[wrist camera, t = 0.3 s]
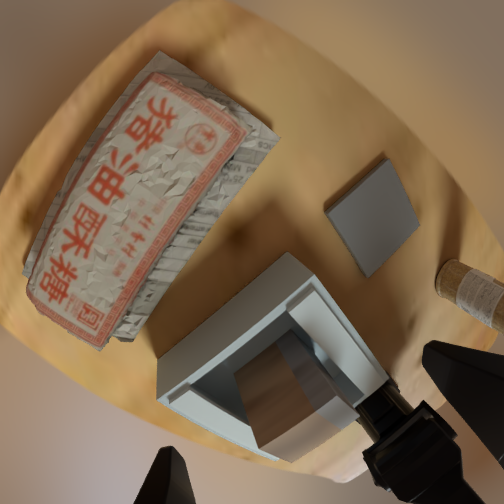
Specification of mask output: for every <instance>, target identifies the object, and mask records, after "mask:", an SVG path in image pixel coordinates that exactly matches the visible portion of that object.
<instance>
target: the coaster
mask: <svg viewBox="0 0 504 504" xmlns="http://www.w3.org/2000/svg"><path fill="white" fill-rule="evenodd" d="M324 213H325V215H326V216H327V218H328V219H329V221H330V222H331V224H332V225H333V227H334V228H335V230H336V231H337V233H338V234H339V236H340V238H341V239H342V241H343V242H344V244H345V245H346V247H347V249H348V250H349V252H350V253H351V255H352V257H353V258H354V260H355V261H356V263H357V265H358V266H359V268H360V270H361V271H362V273H363V275H364V276H365V277H367V278H369V277H370V276H371V275H372V274H373V273H374V272H375V271H376V270H377V269H378V268H379V267H380V266H381V265H382V264H383V263H384V262H385V261H386V260H387V259H388V258H389V257H390V256H391V255H392V254H393V253H394V252H395V251H396V250H397V249H398V248H399V247H400V246H401V245H402V244H403V243H404V242H405V241H406V240H407V239H408V238H409V237H410V236H411V234H412V233H413V232H414V231H415V230H416V229H417V228H418V227H419V226H420V224H419V222H418V219H417V217H416V214H415V212H414V210H413V208H412V205H411V203H410V201H409V199H408V196H407V194H406V192H405V190H404V188H403V186H402V184H401V181H400V179H399V177H398V175H397V173H396V171H395V169H394V167H393V165H392V163H391V162H390V160H389V159H383V160H382V161H381V162H380V163H379V164H378V165H377V166H376V167H375V168H373V169H372V170H371V171H370V172H369V173H368V174H367V175H366V176H365V177H363V178H362V179H361V180H360V181H359V182H358V183H357V184H356V185H354V186H353V187H352V188H351V189H350V190H349V191H348V192H347V193H345V194H344V195H343V196H342V197H341V198H340V199H339V200H338V201H336V202H335V203H334V204H333V205H332V206H331V207H330V208H328V209H327V210H326V211H325V212H324Z"/></svg>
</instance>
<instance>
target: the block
mask: <svg viewBox="0 0 504 504" xmlns="http://www.w3.org/2000/svg"><path fill="white" fill-rule="evenodd" d="M233 374H234V377H235V380H236V383H237V386H238V390H239V393H240V396H241V399H242V402H243V405H244V408H245V411H246V414H247V417H248V420H249V423H250V426H251V429H252V432H253V435H254V438H255V441H256V444H257V446H258V449H259V450H262V451H264V452H266V453H268V454H271V455H273V456H275V457H278V458H280V459H283V460H285V461H288V462H290V463H292V462H294V461H296V460H297V459H299V458H301V457H302V456H304V455H305V454H307V453H309V452H310V451H312V450H313V449H315V448H316V447H318V446H319V445H321V444H322V443H324V442H325V441H327V440H328V439H330V438H331V437H333V436H334V435H335V434H337V433H338V432H340V431H341V430H342V429H344V428H345V427H346V426H348V425H349V424H350V423H352V422H353V421H354V420H356V419H357V418H358V417H360V415H359V414H358V412H357V411H356V410H355V408H354V407H353V405H352V404H351V403H350V401H349V400H348V399H347V397H346V396H345V395H344V393H343V392H342V390H341V389H340V388H339V386H338V385H337V383H336V382H335V381H334V379H333V378H332V377H331V375H330V374H329V372H328V371H327V370H326V368H325V367H324V366H323V364H322V363H321V361H320V360H319V359H318V357H317V356H316V355H315V353H314V352H313V351H312V350H311V349H310V348H309V347H308V346H307V345H306V344H305V343H304V342H303V341H302V340H301V339H300V338H299V337H298V336H297V335H296V334H295V333H294V332H293V331H292V330H291V329H289V330H288V331H287V332H286V333H284V334H283V335H282V336H281V337H280V338H278V339H277V340H276V341H275V342H273V343H272V344H271V345H270V346H268V347H267V348H266V349H265V350H263V351H262V352H261V353H260V354H258V355H257V356H256V357H254V358H253V359H252V360H250V361H249V362H248V363H247V364H245V365H244V366H243V367H241V368H240V369H239V370H237V371H236V372H235V373H233Z"/></svg>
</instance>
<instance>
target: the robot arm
mask: <svg viewBox="0 0 504 504" xmlns="http://www.w3.org/2000/svg"><path fill="white" fill-rule="evenodd" d="M422 365H423V367H424V368H425V370H426V371H427V373H428V374H429V376H430V377H431V379H432V380H433V381H434V383H435V384H436V386H437V387H438V389H439V390H440V392H441V393H442V394H443V396H444V397H445V398H446V399H447V401H448V402H449V403H450V404H451V405H452V406H453V407H454V409H455V410H456V411H457V412H458V413H459V414H460V416H461V417H462V418H463V419H464V420H465V422H466V423H467V424H468V425H469V426H470V427H471V429H472V430H473V431H474V432H475V433H476V435H477V436H478V437H479V439H480V440H481V441H482V442H483V443H484V445H485V446H486V447H487V449H488V450H489V451H490V452H491V454H492V455H493V456H494V457H495V459H496V460H497V461H498V462H499V464H500V465H501V466H502V468H503V469H504V355H499V354H494V353H489V352H485V351H480V350H476V349H471V348H467V347H462V346H458V345H453V344H449V343H445V342H441V341H436V340H432V341H430V342H429V343H427V344H426V345H425V346H424V348H423V355H422ZM385 372H386V371H385ZM386 374H387V375H388V377H389V379H388V380H387V381H386V382H385V383H384V384H383V385H381V386H380V387H379V388H378V389H377V390H376V391H375V392H373V393H372V394H371V395H370V396H369V397H367V398H366V399H364V400H363V401H362V402H361V403H360V404H358V405H357V406H356V407H355V410H356V411H357V412H358V414H359V415H360V417H358V418H357V419H356V420H355V421H357V422H358V423H359V424H361V425H362V427H363V428H364V429H365V431H366V432H367V434H368V435H369V436H370V438H371V439H372V441H373V442H374V444H373V445H372V446H371V447H369V448H368V449H365V450H364V451H363V452H362V454H363V456H364V457H363V459H364V461H365V462H366V464H367V466H368V468H369V470H370V472H371V475H372V478H373V481H374V484H375V485H376V486H379V487H382V488H384V489H385V490H386V491H388V492H391V491H392V492H393V493H394V494H395V495H396V497H397V498H398V499H399V500H401V501H404V502H406V503H413V504H486V503H485V502H484V501H483V500H482V499H481V498H480V497H479V495H478V494H477V493H476V492H475V491H474V490H473V488H472V487H471V486H470V485H469V484H468V483H467V482H466V480H465V479H464V477H463V462H462V453H461V449H460V448H459V446H458V445H457V444H456V443H455V442H454V441H453V440H454V439H455V438H456V437H457V434H456V432H455V431H454V430H453V429H452V428H451V426H450V425H449V424H448V423H447V422H446V421H445V420H444V419H443V418H442V417H441V416H440V415H439V414H438V413H437V412H436V411H435V410H434V409H433V408H432V407H430V406H429V405H428V404H427V403H426V402H425V401H424V400H423V401H422V402H421V403H420V405H418V406H417V407H416V408H415V409H414V408H413V407H412V406H411V405H410V404H409V403H408V402H407V401H406V400H405V399H404V398H403V396H402V395H401V394H400V390H399V389H398V387H397V386H396V384H395V383H394V381H393V380H392V378H391V377H390V375H389V374H388V373H387V372H386ZM133 504H196V502H195V497H194V494H193V490H192V487H191V483H190V479H189V476H188V471H187V467H186V463H185V461H184V459H183V457H182V456H181V455H180V454H179V452H178V451H177V450H176V449H175V448H174V447H173V446H166V447H162V448H160V449H159V451H158V454H157V456H156V458H155V460H154V462H153V464H152V466H151V468H150V470H149V473H148V474H147V476H146V478H145V481H144V483H143V485H142V487H141V489H140V491H139V493H138V495H137V497H136V499H135V501H134V503H133Z"/></svg>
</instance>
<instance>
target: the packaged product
mask: <svg viewBox="0 0 504 504" xmlns="http://www.w3.org/2000/svg"><path fill="white" fill-rule="evenodd" d="M279 140H280V137H279V136H278V135H277V134H275V133H274V132H273V131H272V130H271V129H270V128H268V127H267V126H266V125H265V124H264V123H263V122H261V121H260V120H258V119H257V118H256V117H254V116H253V115H252V114H251V113H249V112H248V111H247V110H246V109H245V108H243V107H242V106H241V105H239V104H238V103H236V102H235V101H234V100H232V99H231V98H230V97H228V96H227V95H225V94H224V93H223V92H221V91H220V90H218V89H217V88H216V87H214V86H213V85H211V84H210V83H208V82H207V81H205V80H204V79H203V78H201V77H200V76H199V75H197V74H196V73H194V72H193V71H191V70H190V69H188V68H187V67H185V66H184V65H182V64H181V63H179V62H178V61H176V60H175V59H172V58H170V57H169V56H167V55H166V54H164V53H163V52H161V51H160V50H159V51H158V53H157V54H156V55H155V56H154V57H153V58H152V59H151V60H150V61H149V63H148V64H147V65H146V66H145V67H144V68H143V69H142V70H141V71H140V72H139V73H138V74H137V75H136V76H135V78H134V79H133V80H132V81H131V83H130V84H129V85H128V86H127V88H126V89H125V91H124V92H123V93H122V95H121V96H120V97H119V98H118V100H117V101H116V102H115V103H114V105H113V106H112V107H111V109H110V110H109V111H108V112H107V114H106V115H105V117H104V118H103V119H102V121H101V122H100V123H99V125H98V126H97V128H96V129H95V131H94V132H93V134H92V135H91V136H90V138H89V139H88V141H87V143H86V144H85V146H84V147H83V149H82V151H81V152H80V154H79V155H78V157H77V158H76V160H75V161H74V163H73V165H72V166H71V168H70V170H69V172H68V173H67V176H66V178H65V181H64V183H63V186H62V189H61V190H59V191H58V192H57V194H56V196H55V198H54V200H53V202H52V204H51V206H50V208H49V210H48V212H47V214H46V216H45V219H44V221H43V223H42V226H41V228H40V230H39V232H38V234H37V236H36V239H35V241H34V243H33V246H32V248H31V251H30V253H29V256H28V258H27V260H26V263H25V266H24V269H23V272H22V274H23V275H24V276H26V277H27V278H28V279H29V280H28V284H27V286H26V293H27V296H28V298H29V299H30V300H31V302H32V303H33V304H34V305H35V307H36V309H37V311H38V312H39V313H40V314H41V315H45V316H47V317H49V318H50V319H51V320H52V321H53V322H55V323H56V324H58V325H60V326H61V327H63V328H64V329H66V330H67V331H68V333H70V334H72V335H74V336H75V337H76V338H78V339H79V340H82V341H84V342H85V343H87V344H89V345H91V346H92V347H94V348H95V349H96V350H98V351H101V350H102V349H103V347H105V345H106V344H107V343H109V339H110V338H111V336H114V337H115V338H117V339H118V340H120V341H121V342H133V341H134V339H135V337H136V336H137V334H138V332H139V331H140V329H141V328H142V326H143V325H144V323H145V322H146V320H147V319H148V317H149V316H150V314H151V313H152V311H153V309H154V308H155V306H156V305H157V303H158V302H159V300H160V299H161V298H162V296H163V295H164V293H165V292H166V290H167V289H168V287H169V286H170V285H171V283H172V281H173V280H174V279H175V277H176V276H177V274H178V273H179V272H180V270H181V269H182V268H183V267H184V265H185V264H186V263H187V261H188V260H189V258H190V257H191V255H192V254H193V252H194V251H195V250H196V248H197V247H198V245H199V244H200V243H201V241H202V240H203V239H204V237H205V235H206V234H207V233H208V231H209V230H210V229H211V227H212V226H213V224H214V223H215V222H216V221H217V219H218V218H219V217H220V215H221V214H222V212H223V211H224V209H225V208H226V207H227V206H228V204H229V203H230V202H231V201H232V199H233V198H234V197H235V195H236V194H237V193H238V192H239V190H240V189H241V188H242V186H243V185H244V184H245V182H246V181H247V180H248V178H249V177H250V176H251V175H252V174H253V172H254V171H255V170H256V168H257V167H258V166H259V164H260V163H261V162H262V161H263V160H264V158H265V157H266V155H267V154H268V153H269V151H270V150H271V149H272V148H273V147H274V146H275V144H276V143H277V142H278V141H279Z"/></svg>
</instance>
